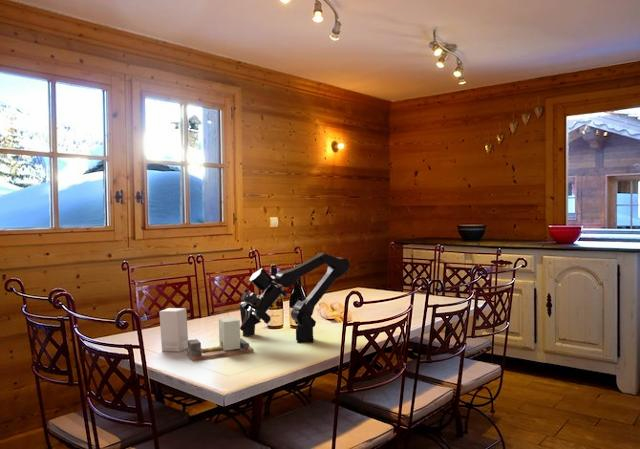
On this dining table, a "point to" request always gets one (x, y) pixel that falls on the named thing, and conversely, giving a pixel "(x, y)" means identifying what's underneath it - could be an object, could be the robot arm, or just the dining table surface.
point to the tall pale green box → (229, 333)
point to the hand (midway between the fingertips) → (240, 329)
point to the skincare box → (174, 329)
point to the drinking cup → (248, 331)
